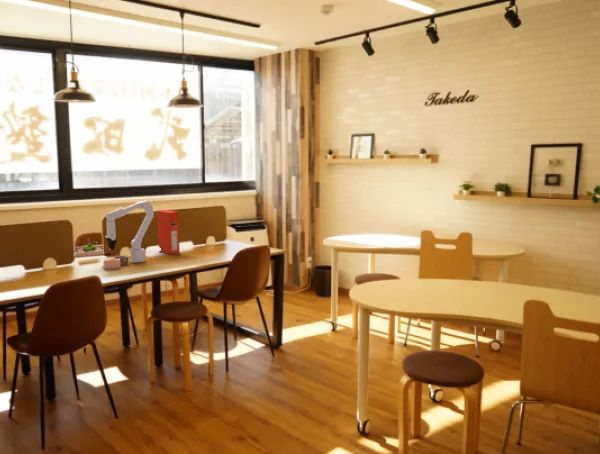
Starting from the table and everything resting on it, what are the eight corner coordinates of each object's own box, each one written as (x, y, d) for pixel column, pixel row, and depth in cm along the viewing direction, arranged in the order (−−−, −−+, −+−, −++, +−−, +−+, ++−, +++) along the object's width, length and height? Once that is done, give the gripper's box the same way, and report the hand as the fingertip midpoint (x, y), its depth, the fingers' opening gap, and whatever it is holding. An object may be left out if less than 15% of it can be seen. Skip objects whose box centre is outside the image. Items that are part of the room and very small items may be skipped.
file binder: (170, 254, 405) (169, 212, 400) (158, 251, 417) (157, 210, 413) (179, 253, 411) (178, 212, 406) (167, 250, 423) (166, 209, 418)
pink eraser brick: (119, 265, 363) (119, 258, 363) (120, 266, 361) (120, 259, 360) (104, 267, 359) (103, 260, 358) (104, 268, 356) (104, 260, 355)
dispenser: (126, 263, 375) (126, 254, 374) (128, 264, 370) (128, 255, 369) (115, 264, 372) (115, 255, 371) (117, 265, 366) (117, 256, 366)
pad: (118, 265, 366) (118, 265, 366) (121, 268, 358) (121, 267, 358) (102, 267, 362) (102, 266, 362) (105, 270, 353) (105, 269, 353)
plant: (101, 249, 424) (100, 235, 422) (106, 254, 408) (106, 239, 406) (73, 252, 413) (73, 237, 412) (78, 256, 397) (77, 241, 395)
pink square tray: (104, 248, 427) (104, 244, 427) (110, 254, 405) (109, 250, 405) (70, 251, 415) (70, 247, 415) (74, 257, 394) (74, 253, 393)
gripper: (103, 228, 376) (104, 247, 378) (106, 231, 364) (107, 251, 366) (113, 228, 380) (114, 246, 382) (117, 230, 367) (118, 250, 369)
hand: (111, 249), depth 374 cm, fingers open, 7 cm apart
